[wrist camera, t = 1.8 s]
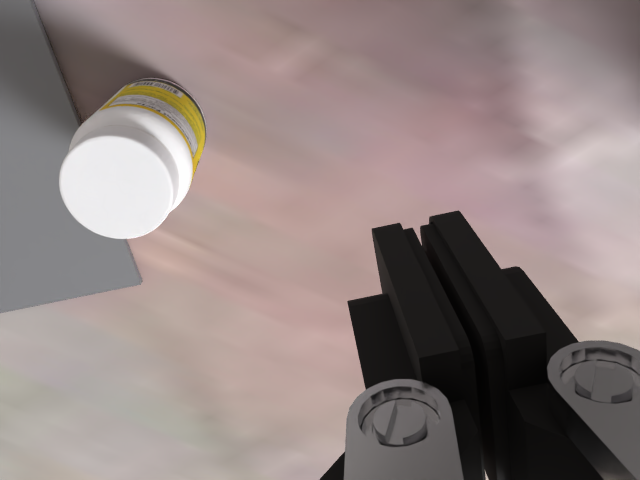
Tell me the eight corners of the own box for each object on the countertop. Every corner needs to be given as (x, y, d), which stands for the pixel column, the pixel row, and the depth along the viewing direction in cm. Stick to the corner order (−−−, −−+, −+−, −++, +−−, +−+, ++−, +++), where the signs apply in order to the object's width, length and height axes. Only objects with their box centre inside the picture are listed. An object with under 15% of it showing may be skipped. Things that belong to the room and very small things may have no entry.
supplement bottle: (148, 189, 30) (103, 271, 22) (86, 109, 28) (14, 169, 20) (227, 142, 29) (209, 210, 21) (169, 56, 27) (127, 98, 19)
